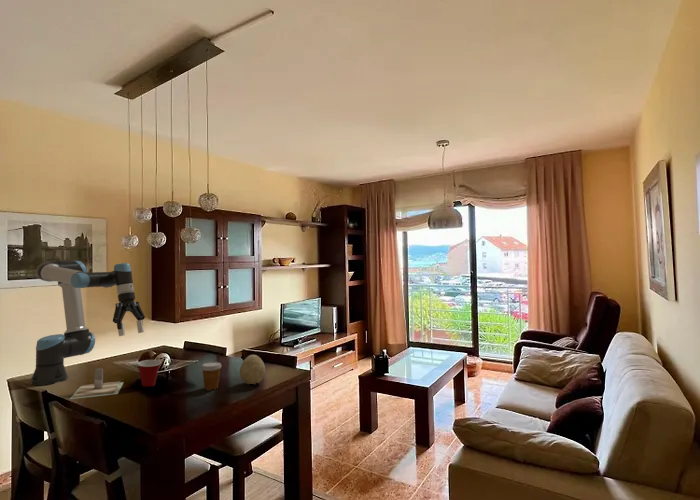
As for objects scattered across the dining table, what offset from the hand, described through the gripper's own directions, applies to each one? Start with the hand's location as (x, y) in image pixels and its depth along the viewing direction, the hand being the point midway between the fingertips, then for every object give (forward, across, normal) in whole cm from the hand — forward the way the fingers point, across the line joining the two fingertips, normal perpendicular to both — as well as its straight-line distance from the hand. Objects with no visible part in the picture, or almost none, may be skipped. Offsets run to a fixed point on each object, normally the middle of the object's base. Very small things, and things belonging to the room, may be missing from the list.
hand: (131, 334), depth 197 cm
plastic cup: (+27, +4, -2) cm, 28 cm away
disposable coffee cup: (+35, +6, -34) cm, 49 cm away
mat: (+24, -7, +16) cm, 30 cm away
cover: (+23, -8, +16) cm, 29 cm away
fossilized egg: (+38, +16, -52) cm, 66 cm away
